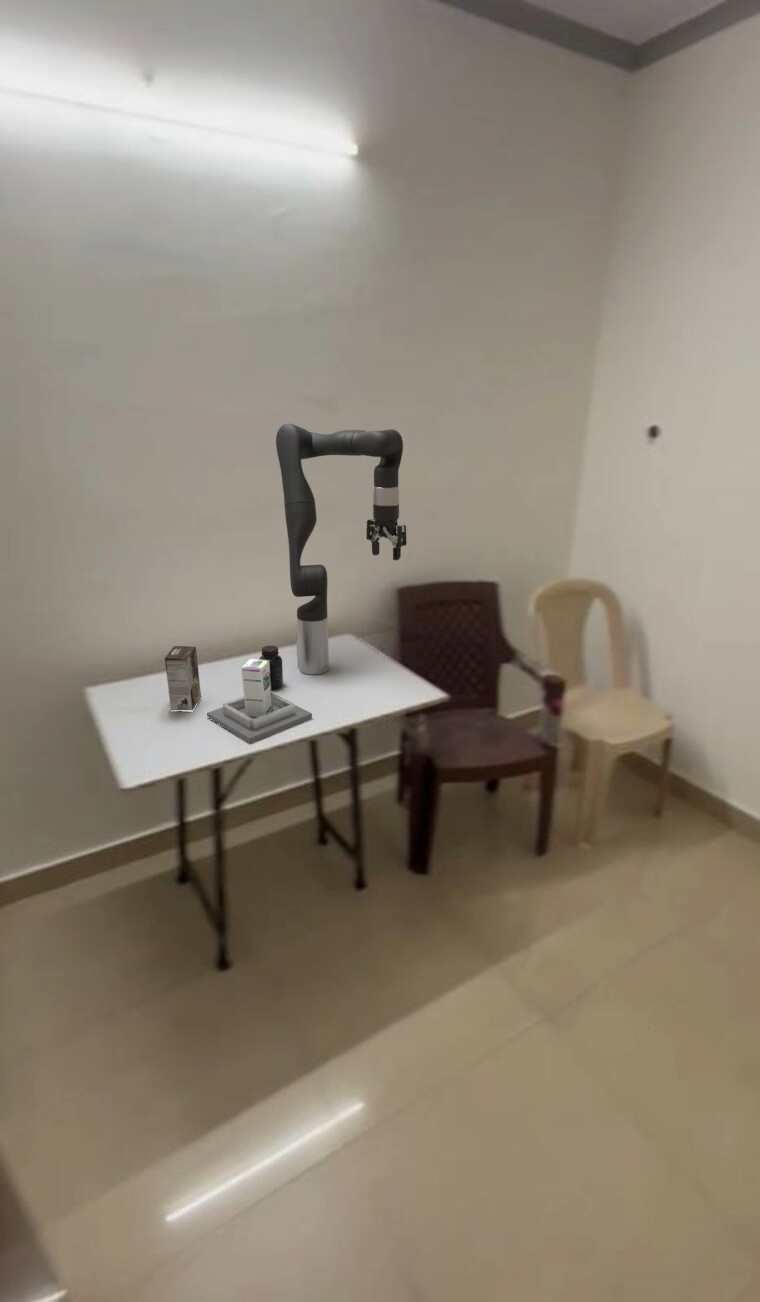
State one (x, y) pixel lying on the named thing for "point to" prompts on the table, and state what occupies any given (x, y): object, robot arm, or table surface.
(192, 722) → the table surface
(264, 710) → the syrup box
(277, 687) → the supplement bottle
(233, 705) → the frame
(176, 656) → the coffee box
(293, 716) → the plate
